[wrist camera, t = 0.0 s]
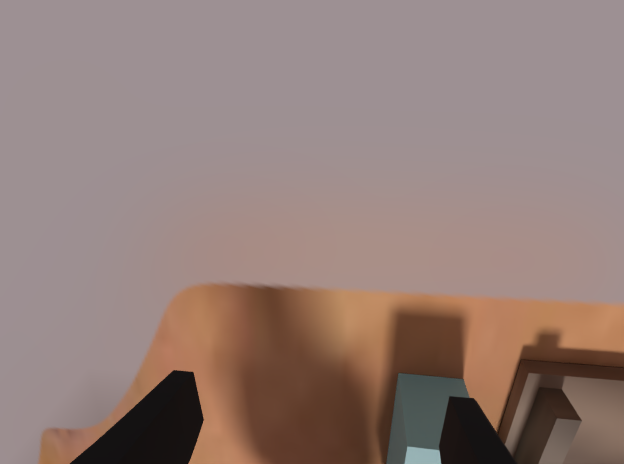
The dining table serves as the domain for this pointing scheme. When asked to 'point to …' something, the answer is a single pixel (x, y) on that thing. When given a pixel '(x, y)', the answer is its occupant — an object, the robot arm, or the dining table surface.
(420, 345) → the dining table surface
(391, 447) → the tall teal pillar block
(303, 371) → the dining table surface
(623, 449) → the cradle
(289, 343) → the dining table surface
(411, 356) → the dining table surface
